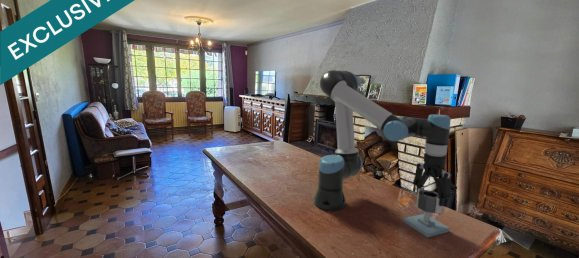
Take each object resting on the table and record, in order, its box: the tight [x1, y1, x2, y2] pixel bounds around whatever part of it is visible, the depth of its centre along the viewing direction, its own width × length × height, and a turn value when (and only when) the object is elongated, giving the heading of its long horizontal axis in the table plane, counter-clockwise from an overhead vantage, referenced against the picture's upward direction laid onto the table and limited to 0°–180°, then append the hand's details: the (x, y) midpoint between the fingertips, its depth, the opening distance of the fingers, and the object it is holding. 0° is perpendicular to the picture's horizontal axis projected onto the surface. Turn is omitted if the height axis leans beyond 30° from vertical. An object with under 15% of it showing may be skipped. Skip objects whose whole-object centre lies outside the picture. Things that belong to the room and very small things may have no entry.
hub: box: [416, 189, 439, 214], centre depth 101 cm, size 8×8×6 cm
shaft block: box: [403, 211, 451, 238], centre depth 103 cm, size 12×12×12 cm
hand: (428, 207), depth 102 cm, fingers closed on hub, 8 cm apart
